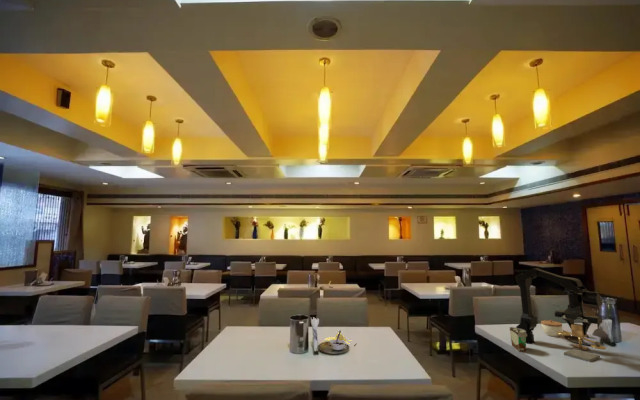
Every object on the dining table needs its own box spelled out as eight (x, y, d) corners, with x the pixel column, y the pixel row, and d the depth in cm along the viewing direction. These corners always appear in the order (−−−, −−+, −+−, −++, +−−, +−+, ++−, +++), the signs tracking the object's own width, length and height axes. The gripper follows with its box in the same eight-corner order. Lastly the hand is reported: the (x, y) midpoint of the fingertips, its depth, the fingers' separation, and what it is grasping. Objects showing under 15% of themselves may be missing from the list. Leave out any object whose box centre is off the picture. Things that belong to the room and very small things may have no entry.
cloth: (361, 347, 175) (361, 335, 176) (330, 350, 170) (330, 338, 170) (347, 335, 196) (347, 325, 197) (319, 338, 191) (319, 328, 192)
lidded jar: (566, 336, 192) (564, 320, 193) (559, 339, 186) (557, 323, 187) (546, 331, 201) (544, 317, 202) (539, 334, 195) (537, 319, 196)
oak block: (572, 335, 160) (570, 324, 161) (576, 334, 163) (575, 323, 163) (582, 337, 157) (581, 326, 157) (586, 336, 159) (585, 325, 159)
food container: (533, 353, 163) (531, 333, 164) (520, 352, 164) (518, 333, 165) (522, 345, 175) (521, 327, 176) (510, 345, 176) (509, 326, 177)
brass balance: (555, 343, 178) (554, 329, 179) (560, 341, 181) (559, 328, 182) (603, 355, 159) (601, 339, 160) (608, 353, 162) (606, 338, 163)
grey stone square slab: (563, 354, 160) (563, 352, 161) (574, 351, 166) (574, 348, 166) (589, 362, 151) (589, 359, 151) (600, 357, 156) (599, 355, 156)
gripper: (547, 301, 166) (550, 331, 164) (590, 307, 150) (594, 341, 148) (558, 299, 171) (561, 328, 169) (600, 305, 155) (604, 338, 153)
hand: (579, 334), depth 160 cm, fingers closed on oak block, 4 cm apart
